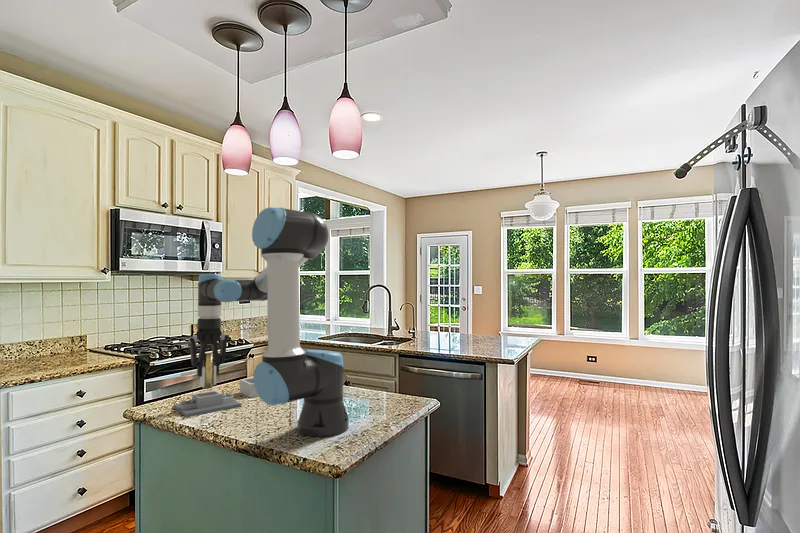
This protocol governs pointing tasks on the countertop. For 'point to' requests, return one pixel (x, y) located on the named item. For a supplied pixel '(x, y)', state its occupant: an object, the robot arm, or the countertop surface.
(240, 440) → the countertop surface
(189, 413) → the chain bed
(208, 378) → the pin
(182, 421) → the countertop surface
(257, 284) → the robot arm
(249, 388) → the tray
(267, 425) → the countertop surface
